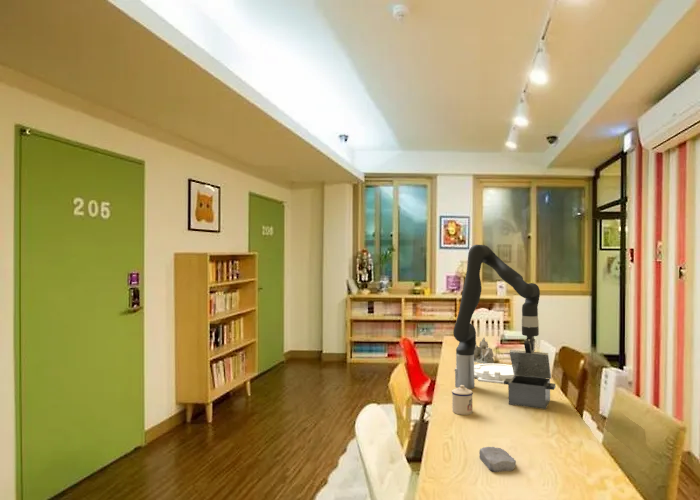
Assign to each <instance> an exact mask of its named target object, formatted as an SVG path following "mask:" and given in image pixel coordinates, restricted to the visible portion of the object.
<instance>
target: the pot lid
mask: <svg viewBox="0 0 700 500" xmlns="http://www.w3.org/2000/svg"><path fill="white" fill-rule="evenodd" d="M523 344H524V350H513V349H510V350H509V358H510V362H511V365H512V368H513V373H514V375H519V376H527V377H537V378H546V379H550V380H552V372H551V366H550V365H551V363H550V358H549V357H550V356H549V352H543V351H541V352H540V351H534V352H532V351H531V344H530V341H525V340H524V342H523Z"/></svg>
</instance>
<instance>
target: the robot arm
mask: <svg viewBox="0 0 700 500" xmlns="http://www.w3.org/2000/svg"><path fill="white" fill-rule="evenodd" d="M482 263H484V264H485V265H488V266H489V267H490V268H492V269H493V270H494V271H495V272H496V273H497V275H498V276H499V277H500V278H501V280H503V281H504V282H505V283H506V284H507V285H509V286H510V287H512V288H513V290H514V291H515V292H516V293H517V295H519V296H520V297H522V298H524V299H525V300H524V301H525V302H524V303H523V304H522V306H521V335H522V336H526V339H525V340H524V341H530V344H531V351H532V352H536V351H535V348H536V339H535V337H538V336H539V334H540V332H539V331H540V329H539V325H540V323H539V316H538V315H539V313H538V312H539V308H538V306H539V303H540V296H541V295H540V294H541V290H540V287H539V286H538V284H536V283H534V282H529V283H528V282H526V281H525V280H524V277H523V276H522V275H521V274H520V273H519V272H517V271H516V270H515V269H513V268H512V267H511V266H509V265H508V264H506V262H504V261H503V260H502V259H501V258H500V257H499V256H498V255H497V254H496V253H495V252H494V251H493V250H492V249H491V248H490V247H489V246H487V245H485V244H474V245H472V246H471V247H470V248H469V250H468V255H467V266H466V273H465V277H464V284H463V287H462V293H461V299H460V303H459V309H458V314H457V318H456V321H455V325H454V327H453V337H454V339H455V340H456V341H457V342H458V346H457V347H456V349H455V351H456V352H455V356H456V358H455V362H456V363H455V368H454V374H455V375H454V383H455V384H454V387H455V388H458V387H460V385H464V386H465V388H467V389H469V390H471V389H474V388H475V385H476V384H475V377H474V365H475V362H474V350H475V347H476V345H477V340H476V339H477V332H476V327H475V326H474V325H473V324H472V323H471V320H472V317H473V316H474V313H475V311H476V309H477V307H478V305H479V302H480V300H481V294H482V280H481V275H480V274H481V269H482Z"/></svg>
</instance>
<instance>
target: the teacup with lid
mask: <svg viewBox="0 0 700 500" xmlns="http://www.w3.org/2000/svg"><path fill="white" fill-rule="evenodd" d="M451 394H452V395H451V397H452V403H451V404H452V406H451V408H452V412H453V413H454V414H457V415H463V416H466V415H471V414H472V413H473V411H474V410H473V394H474V392H473V391H472V390H471V389H467V388H465V386H464V385H460V387H456V388H454V389H452V390H451Z"/></svg>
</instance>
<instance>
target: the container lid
mask: <svg viewBox="0 0 700 500" xmlns="http://www.w3.org/2000/svg"><path fill="white" fill-rule="evenodd" d="M514 376H515V375H514V373H513V368H512V364H508V363H506V364H505V363H495V362H494V363H488V364H482V363H477V364H474V379H477V382H484V383H495V384H500V385H501V384H504V381H505V380H506V378H507V379H512V378H513V377H514ZM518 376H519V375H518ZM504 385H505V384H504Z"/></svg>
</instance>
